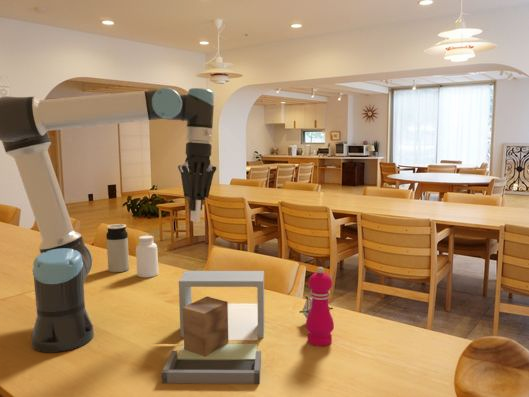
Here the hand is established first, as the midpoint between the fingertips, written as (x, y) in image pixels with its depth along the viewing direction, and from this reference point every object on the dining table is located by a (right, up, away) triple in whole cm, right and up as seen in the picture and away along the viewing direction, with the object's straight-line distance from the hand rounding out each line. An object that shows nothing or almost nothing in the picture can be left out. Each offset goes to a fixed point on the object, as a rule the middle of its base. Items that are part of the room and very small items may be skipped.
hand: (195, 221), depth 140 cm
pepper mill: (+35, -31, -18) cm, 50 cm away
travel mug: (-37, -22, +46) cm, 63 cm away
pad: (+9, -31, -22) cm, 39 cm away
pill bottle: (-24, -23, +40) cm, 52 cm away
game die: (+36, -29, -7) cm, 46 cm away
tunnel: (+10, -29, -5) cm, 31 cm away
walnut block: (+6, -31, -21) cm, 38 cm away
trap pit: (+9, -33, -33) cm, 47 cm away
